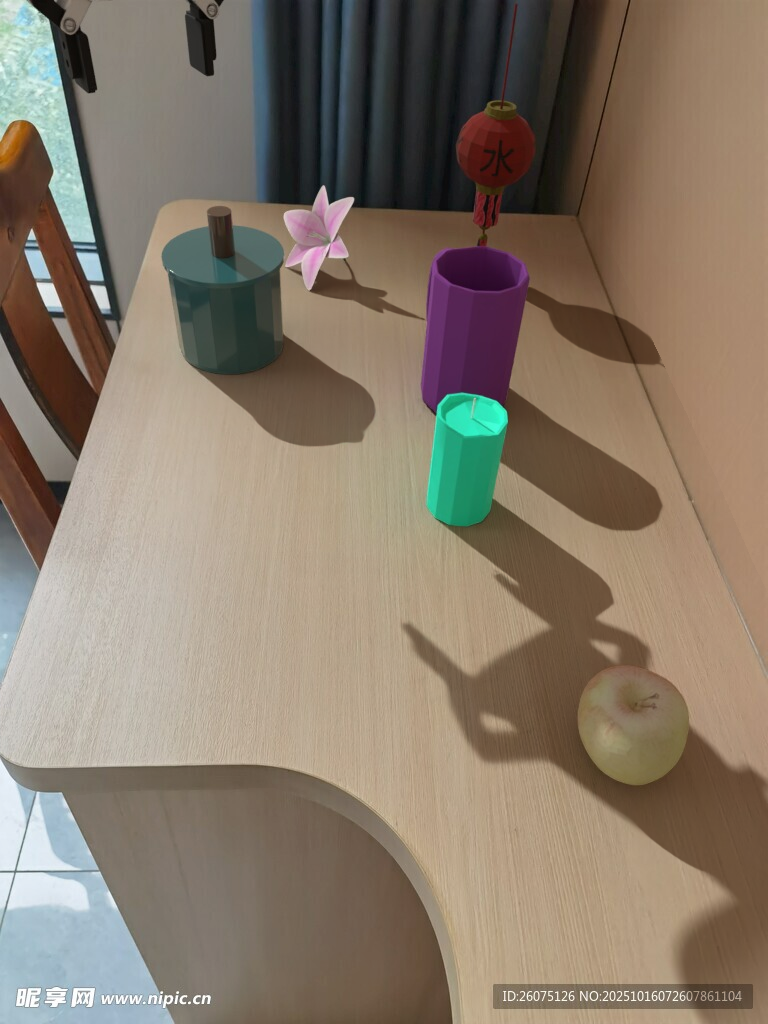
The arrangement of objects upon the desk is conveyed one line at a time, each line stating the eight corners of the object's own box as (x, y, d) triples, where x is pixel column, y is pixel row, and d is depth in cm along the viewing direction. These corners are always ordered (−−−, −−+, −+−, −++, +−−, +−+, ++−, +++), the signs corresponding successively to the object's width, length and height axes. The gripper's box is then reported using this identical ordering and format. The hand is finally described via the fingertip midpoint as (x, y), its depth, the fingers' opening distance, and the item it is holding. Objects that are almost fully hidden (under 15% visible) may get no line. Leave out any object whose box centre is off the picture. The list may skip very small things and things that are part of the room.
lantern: (515, 287, 102) (565, 19, 81) (441, 281, 102) (471, 12, 81) (513, 252, 108) (557, -5, 87) (443, 246, 109) (471, -11, 87)
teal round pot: (175, 374, 85) (160, 286, 78) (185, 317, 93) (173, 231, 86) (282, 374, 86) (278, 286, 79) (284, 317, 94) (280, 232, 87)
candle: (412, 499, 74) (422, 394, 65) (458, 472, 77) (473, 368, 68) (458, 536, 71) (475, 431, 62) (504, 506, 74) (526, 402, 65)
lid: (156, 294, 78) (146, 240, 74) (170, 234, 87) (162, 183, 83) (283, 294, 79) (281, 241, 75) (285, 235, 88) (283, 185, 84)
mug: (436, 431, 81) (452, 298, 70) (389, 346, 91) (397, 220, 81) (519, 417, 83) (547, 286, 73) (464, 336, 93) (481, 211, 83)
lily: (287, 249, 108) (257, 199, 100) (368, 216, 106) (344, 162, 98) (302, 318, 103) (271, 271, 95) (388, 285, 101) (364, 234, 93)
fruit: (694, 768, 56) (735, 708, 50) (615, 818, 53) (649, 760, 48) (621, 686, 61) (651, 622, 55) (545, 727, 58) (568, 665, 52)
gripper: (203, -213, 57) (223, 53, 69) (-54, -221, 50) (20, 79, 62) (253, -203, 53) (265, 79, 65) (-19, -209, 45) (52, 111, 57)
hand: (146, 79), depth 63 cm, fingers open, 9 cm apart
